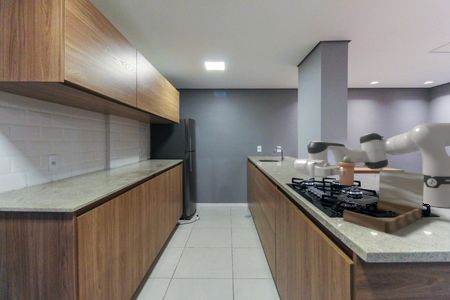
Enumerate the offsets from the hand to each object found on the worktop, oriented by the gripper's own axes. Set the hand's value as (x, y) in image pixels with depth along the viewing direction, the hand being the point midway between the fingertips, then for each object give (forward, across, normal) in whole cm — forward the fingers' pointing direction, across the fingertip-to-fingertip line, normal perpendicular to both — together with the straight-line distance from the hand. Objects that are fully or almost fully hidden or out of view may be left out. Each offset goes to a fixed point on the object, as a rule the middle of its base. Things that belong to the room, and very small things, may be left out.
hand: (348, 172), depth 114 cm
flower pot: (-1, 0, -6) cm, 6 cm away
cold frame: (+16, +2, -17) cm, 24 cm away
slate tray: (-4, -16, -17) cm, 24 cm away
